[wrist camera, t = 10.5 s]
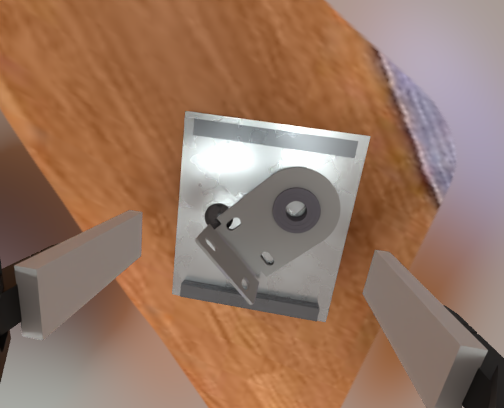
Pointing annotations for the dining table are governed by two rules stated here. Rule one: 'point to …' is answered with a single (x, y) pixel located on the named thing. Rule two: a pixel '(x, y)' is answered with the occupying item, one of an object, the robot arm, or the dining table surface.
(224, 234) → the bracket
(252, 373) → the dining table surface
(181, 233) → the mount plate
